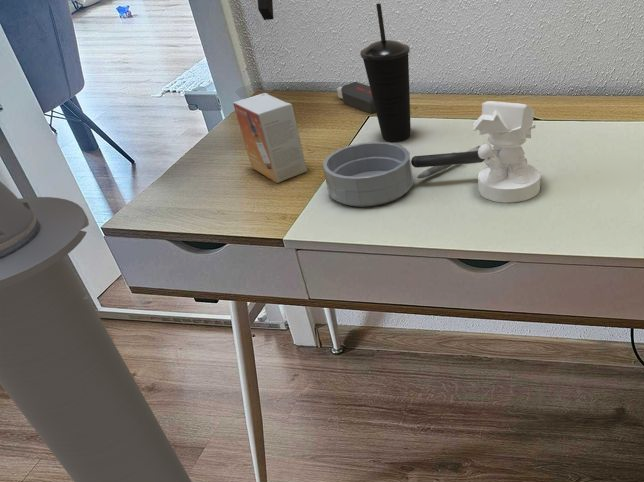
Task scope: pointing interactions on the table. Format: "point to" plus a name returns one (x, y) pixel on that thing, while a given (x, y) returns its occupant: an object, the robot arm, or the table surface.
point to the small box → (271, 136)
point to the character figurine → (506, 153)
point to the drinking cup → (389, 84)
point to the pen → (439, 167)
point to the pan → (368, 173)
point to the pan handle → (446, 159)
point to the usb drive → (357, 96)
